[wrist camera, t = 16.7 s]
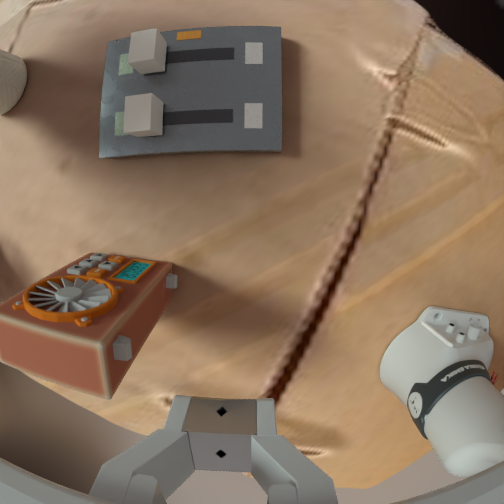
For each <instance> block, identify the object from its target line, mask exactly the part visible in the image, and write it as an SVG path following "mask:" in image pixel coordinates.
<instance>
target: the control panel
mask: <svg viewBox="0 0 504 504" xmlns="http://www.w3.org/2000/svg"><path fill="white" fill-rule="evenodd" d="M176 287H177V275H176V274H172V263H169V262H160V261H152V260H144V259H136V258H128V257H125V256H118V255H108V254H102V253H89V254H87V255H85V256H83V257H81V258H79V259H77V260H76V261H74V262H72V263H70V264H68V265H66V266H64V267H63V268H61V269H59V270H57V271H55V272H54V273H52V274H50V275H48V276H47V277H45V278H43V279H41V280H39V281H38V282H36V283H34V284H33V285H31V286H29V287H27V288H26V289H24V290H22V291H21V292H19V293H17V294H16V295H14V296H12V297H11V298H9V299H7V300H6V301H4V302H2V303H1V304H0V361H1V362H2V363H4V364H7V365H9V366H11V367H13V368H16V369H18V370H21V371H23V372H26V373H28V374H31V375H33V376H36V377H38V378H41V379H44V380H47V381H49V382H52V383H55V384H58V385H61V386H64V387H67V388H70V389H73V390H76V391H80V392H83V393H86V394H90V395H93V396H97V397H100V398H104V399H108V400H110V399H111V398H112V397H113V395H114V393H115V391H116V390H117V388H118V386H119V385H120V383H121V381H122V379H123V378H124V376H125V374H126V373H127V371H128V369H129V368H130V366H131V364H132V363H133V361H134V359H135V358H136V356H137V354H138V353H139V351H140V349H141V348H142V346H143V344H144V343H145V341H146V339H147V338H148V336H149V334H150V333H151V331H152V330H153V328H154V326H155V325H156V323H157V322H158V320H159V318H160V317H161V315H162V314H163V312H164V310H165V309H166V307H167V306H168V304H169V302H170V301H171V288H172V289H174V288H176Z"/></svg>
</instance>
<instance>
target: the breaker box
mask: <svg viewBox="0 0 504 504" xmlns="http://www.w3.org/2000/svg"><path fill="white" fill-rule="evenodd" d="M160 33H161V35H162V36H163V38H164V39H165V40H166V42H167V48H166V60H165V71H162V72H153V73H146V74H140V73H139V72H138V71H137V70H135V69H134V68H133V67H132V66H131V65H129V64H128V55H129V47H130V39H131V37H129V38H124V39H119V40H115V41H110V42H108V45H107V52H106V60H105V68H104V77H103V87H102V99H101V115H100V139H99V158H106V159H112V158H123V157H134V156H147V155H162V154H181V153H209V152H276V153H280V152H281V151H282V52H281V27H271V26H227V27H207V28H194V29H183V30H174V31H166V32H160ZM147 93H153V94H154V95H155V96H156V97H158V98H159V99H160V100H161V101H163V128H162V135H156V136H145V137H136V136H133V135H130V134H126V133H124V109H125V96H132V95H139V94H147Z"/></svg>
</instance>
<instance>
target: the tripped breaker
mask: <svg viewBox="0 0 504 504" xmlns="http://www.w3.org/2000/svg"><path fill="white" fill-rule="evenodd" d="M166 48H167V42H166V40H165V39H164V38H163V36H162V35H161V33H160V32H159V30H158V29H157V28H155V29H148V30H142V31H137V32H132V33H131V39H130V47H129V55H128V64H129V65H131V66H132V67H133V68H134V69H135V70H137V71H138V72H139V73H140V74H146V73H153V72H162V71H165V60H166Z"/></svg>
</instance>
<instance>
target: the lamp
mask: <svg viewBox="0 0 504 504" xmlns="http://www.w3.org/2000/svg"><path fill="white" fill-rule="evenodd" d="M26 81H27V70H26V65H25V63H24V61H23V60H22V59H21V58H20V57H18V56H16V55H13V54H11V53H8V52H6V51H3V50H1V49H0V115H2V114H4V113H6V112H8V111H9V110H11V109H12V107H13V106H15V105H16V103H17V102H18V101H19V99H20V97H21V96H22V94H23V90H24V88H25V86H26Z"/></svg>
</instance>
